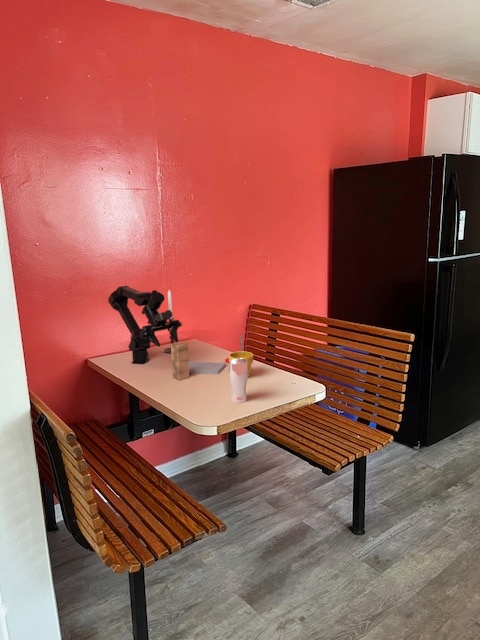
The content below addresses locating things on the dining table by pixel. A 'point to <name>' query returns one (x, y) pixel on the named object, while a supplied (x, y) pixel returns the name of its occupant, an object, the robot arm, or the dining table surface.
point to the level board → (205, 367)
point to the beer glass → (238, 379)
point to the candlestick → (168, 350)
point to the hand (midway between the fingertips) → (168, 344)
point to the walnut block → (180, 360)
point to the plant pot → (243, 355)
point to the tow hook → (241, 348)
